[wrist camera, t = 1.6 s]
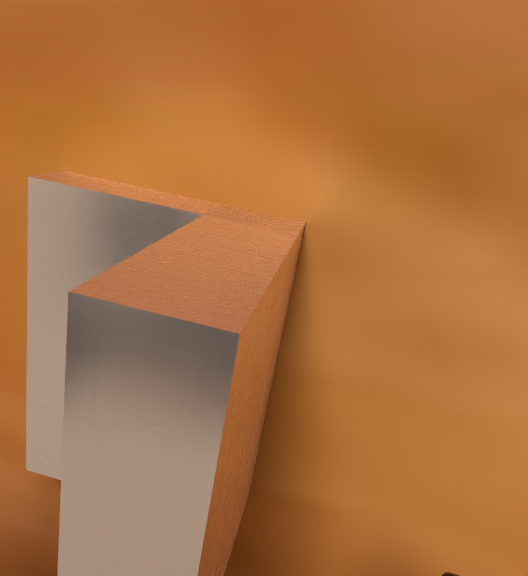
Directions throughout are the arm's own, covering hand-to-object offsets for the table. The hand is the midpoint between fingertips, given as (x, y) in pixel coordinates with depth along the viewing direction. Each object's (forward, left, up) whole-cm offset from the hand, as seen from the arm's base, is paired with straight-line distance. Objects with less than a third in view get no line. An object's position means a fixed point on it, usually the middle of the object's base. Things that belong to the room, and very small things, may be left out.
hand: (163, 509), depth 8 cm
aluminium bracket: (0, +2, -5) cm, 5 cm away
